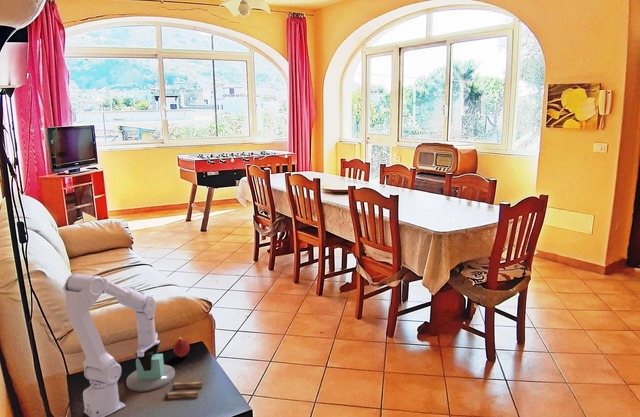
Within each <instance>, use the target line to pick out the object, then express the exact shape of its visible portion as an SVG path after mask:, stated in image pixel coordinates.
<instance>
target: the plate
mask: <svg viewBox="0 0 640 417" xmlns="http://www.w3.org/2000/svg"><path fill="white" fill-rule="evenodd" d="M175 370H176V369H175V368H174V367H173V366H171V365H167V364H164V371H165V372H164V374H163V376H162V377H161V378H154V379H138V378H137V369H136V370H134V371H133V372H131V373H130V374H129V375H128V376H127V378H126V379H125V380H126V381H125V382H126V383H125V384H126V388H127V389H129V390H131V391H133V392H141V393H142V392H151V391H154V390H155V391H156V390H158V389H161V388H163V387H166V386H167V385H169V384H170V383H171V382H173V381H174V379H175V377H176V371H175Z"/></svg>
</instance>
